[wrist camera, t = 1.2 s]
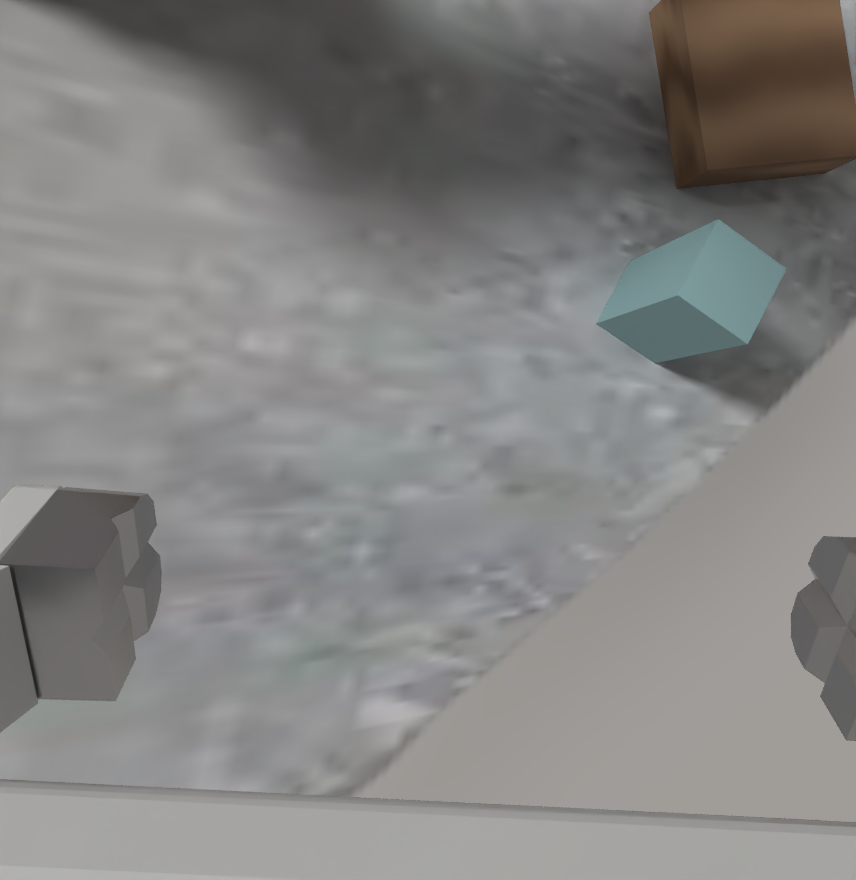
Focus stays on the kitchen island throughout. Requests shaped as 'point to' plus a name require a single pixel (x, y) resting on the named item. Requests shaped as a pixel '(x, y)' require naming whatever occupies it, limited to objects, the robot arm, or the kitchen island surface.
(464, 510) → the kitchen island surface
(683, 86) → the walnut block
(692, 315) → the teal block
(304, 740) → the kitchen island surface
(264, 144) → the kitchen island surface
